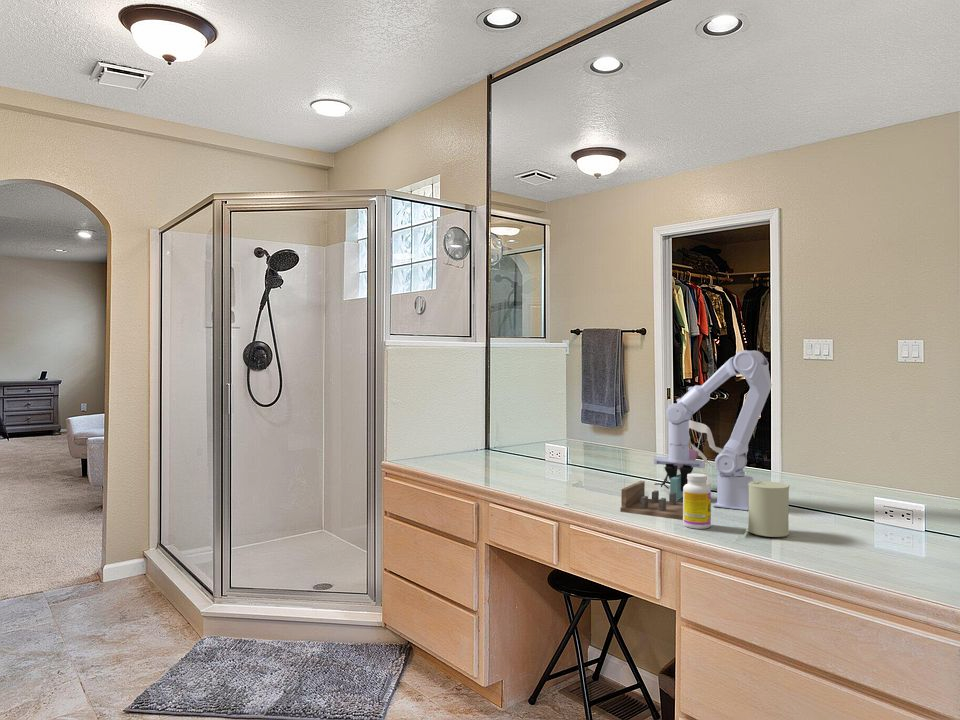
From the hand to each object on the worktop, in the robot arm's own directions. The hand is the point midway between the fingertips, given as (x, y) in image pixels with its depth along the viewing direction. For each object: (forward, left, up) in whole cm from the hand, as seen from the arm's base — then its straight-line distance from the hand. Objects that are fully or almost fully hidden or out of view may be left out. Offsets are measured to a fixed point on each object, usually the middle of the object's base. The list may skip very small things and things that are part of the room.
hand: (678, 490), depth 202 cm
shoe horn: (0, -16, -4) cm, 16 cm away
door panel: (0, 0, -2) cm, 2 cm away
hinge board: (0, +15, -3) cm, 15 cm away
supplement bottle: (-13, +28, -3) cm, 31 cm away
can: (-29, +24, -3) cm, 38 cm away
